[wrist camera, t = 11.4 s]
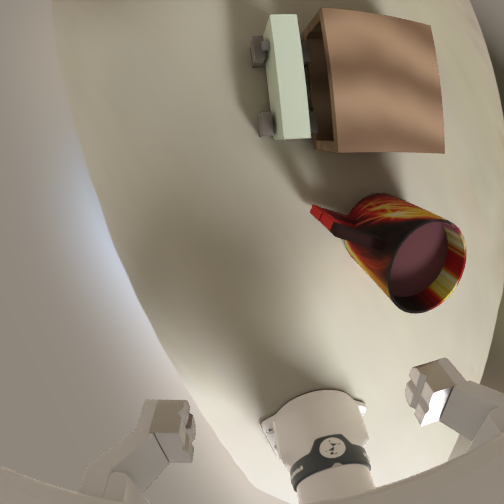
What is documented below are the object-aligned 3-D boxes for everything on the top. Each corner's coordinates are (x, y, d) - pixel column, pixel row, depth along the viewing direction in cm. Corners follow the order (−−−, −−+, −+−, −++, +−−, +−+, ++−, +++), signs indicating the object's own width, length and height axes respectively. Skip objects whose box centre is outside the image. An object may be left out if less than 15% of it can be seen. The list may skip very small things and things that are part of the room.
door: (295, 138, 32) (311, 138, 25) (266, 139, 32) (275, 140, 25) (284, 36, 28) (296, 14, 21) (255, 37, 27) (261, 14, 21)
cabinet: (406, 148, 33) (444, 153, 25) (261, 152, 32) (269, 156, 25) (395, 41, 28) (430, 25, 21) (248, 34, 28) (253, 6, 20)
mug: (306, 202, 35) (341, 234, 24) (409, 189, 35) (469, 212, 24) (313, 278, 38) (344, 333, 27) (409, 259, 38) (459, 300, 27)
